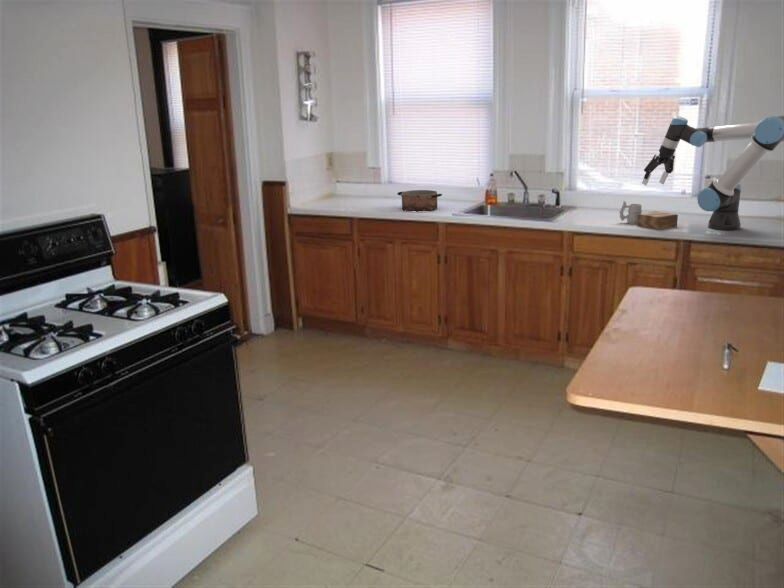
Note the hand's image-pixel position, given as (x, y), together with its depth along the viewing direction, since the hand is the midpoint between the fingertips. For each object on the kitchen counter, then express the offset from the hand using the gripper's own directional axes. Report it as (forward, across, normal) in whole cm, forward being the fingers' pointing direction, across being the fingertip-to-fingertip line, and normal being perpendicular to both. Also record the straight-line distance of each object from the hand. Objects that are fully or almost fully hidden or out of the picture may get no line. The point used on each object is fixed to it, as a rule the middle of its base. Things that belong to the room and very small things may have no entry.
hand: (652, 183), depth 377 cm
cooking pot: (+66, +70, -103) cm, 140 cm away
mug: (+22, +7, +2) cm, 24 cm away
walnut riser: (+17, +4, +15) cm, 23 cm away
